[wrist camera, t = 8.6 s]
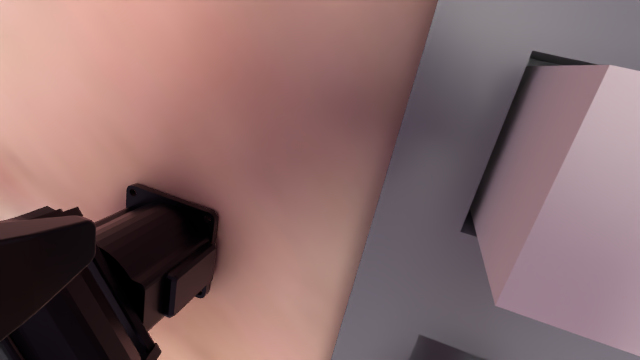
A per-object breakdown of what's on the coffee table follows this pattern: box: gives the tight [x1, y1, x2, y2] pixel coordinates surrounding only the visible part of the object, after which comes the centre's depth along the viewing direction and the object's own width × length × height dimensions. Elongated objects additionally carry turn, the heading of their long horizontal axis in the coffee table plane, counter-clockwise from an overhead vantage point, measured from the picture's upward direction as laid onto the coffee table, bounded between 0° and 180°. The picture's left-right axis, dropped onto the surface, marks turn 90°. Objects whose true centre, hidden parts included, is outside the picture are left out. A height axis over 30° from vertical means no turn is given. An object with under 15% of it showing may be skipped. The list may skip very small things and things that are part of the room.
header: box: [331, 0, 640, 360], centre depth 17 cm, size 11×24×4 cm, turn 167°
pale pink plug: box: [470, 65, 640, 356], centre depth 12 cm, size 4×6×8 cm, turn 167°
